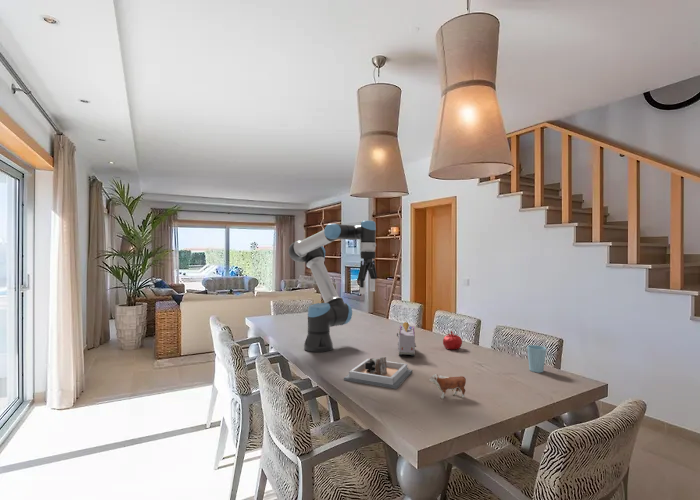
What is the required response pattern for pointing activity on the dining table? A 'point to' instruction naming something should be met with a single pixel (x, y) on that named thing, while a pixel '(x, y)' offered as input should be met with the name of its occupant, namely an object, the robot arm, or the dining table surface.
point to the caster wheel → (377, 366)
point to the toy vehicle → (406, 340)
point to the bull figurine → (449, 384)
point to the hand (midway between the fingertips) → (367, 292)
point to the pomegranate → (452, 341)
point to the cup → (536, 358)
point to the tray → (390, 380)
